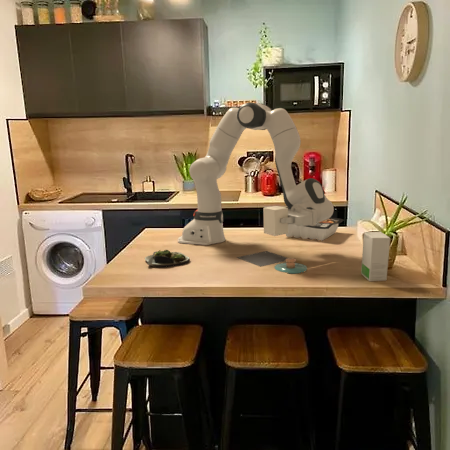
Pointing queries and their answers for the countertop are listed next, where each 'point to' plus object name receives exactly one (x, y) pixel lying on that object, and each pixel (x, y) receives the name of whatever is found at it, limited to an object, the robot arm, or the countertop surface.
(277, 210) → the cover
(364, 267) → the skincare box
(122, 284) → the countertop surface
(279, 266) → the teal pot lid
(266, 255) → the mat
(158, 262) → the salad plate
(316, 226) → the food packaging
